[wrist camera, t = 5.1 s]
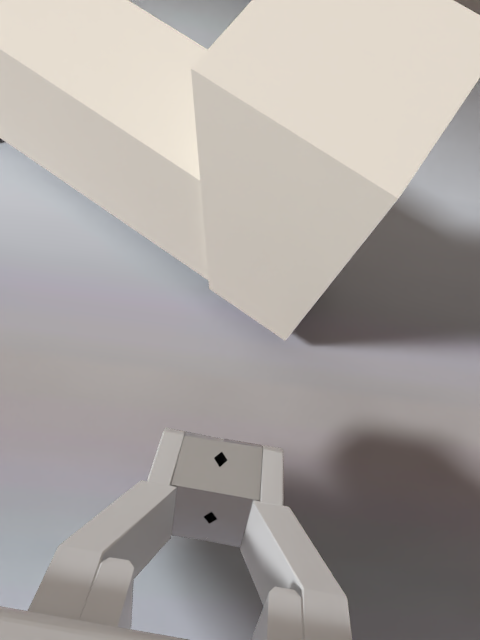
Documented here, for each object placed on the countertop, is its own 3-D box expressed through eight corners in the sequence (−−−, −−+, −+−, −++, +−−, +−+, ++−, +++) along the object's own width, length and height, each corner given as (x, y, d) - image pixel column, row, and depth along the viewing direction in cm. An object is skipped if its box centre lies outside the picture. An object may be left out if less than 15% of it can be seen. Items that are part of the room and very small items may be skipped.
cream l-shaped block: (-34, 122, 18) (-385, -294, 7) (24, 65, 18) (-221, -382, 8) (285, 340, 16) (398, 199, 6) (334, 269, 17) (510, 32, 7)
